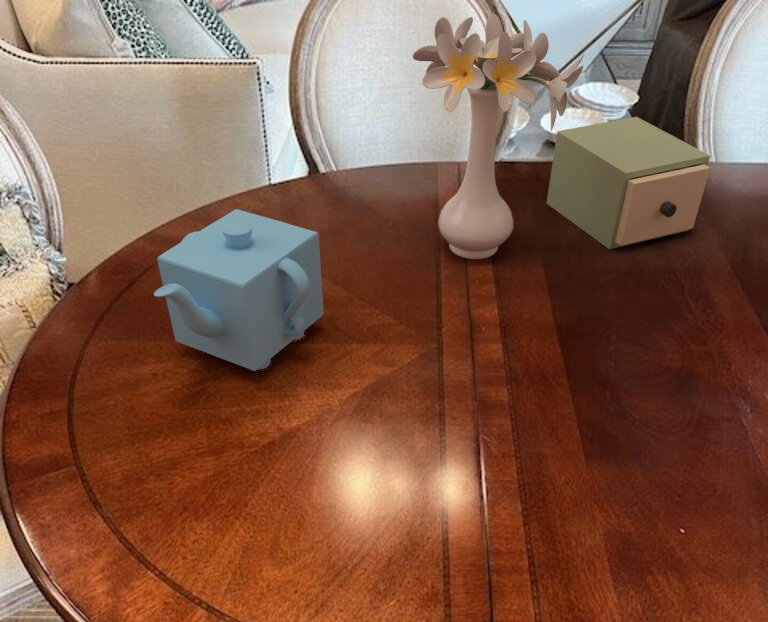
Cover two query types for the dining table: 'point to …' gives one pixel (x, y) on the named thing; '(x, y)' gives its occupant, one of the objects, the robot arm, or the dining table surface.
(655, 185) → the drawer
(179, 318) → the teapot
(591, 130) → the cabinet
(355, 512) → the dining table surface
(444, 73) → the flower vase
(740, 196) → the dining table surface
